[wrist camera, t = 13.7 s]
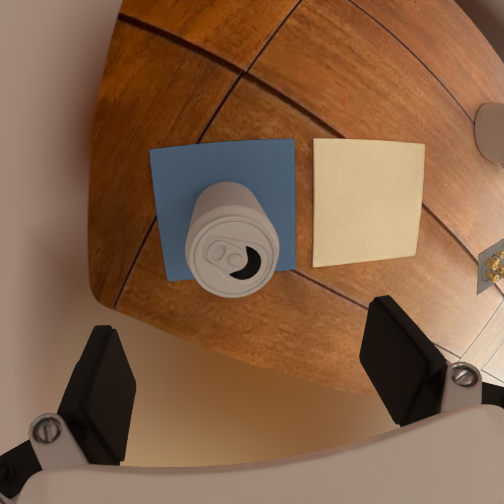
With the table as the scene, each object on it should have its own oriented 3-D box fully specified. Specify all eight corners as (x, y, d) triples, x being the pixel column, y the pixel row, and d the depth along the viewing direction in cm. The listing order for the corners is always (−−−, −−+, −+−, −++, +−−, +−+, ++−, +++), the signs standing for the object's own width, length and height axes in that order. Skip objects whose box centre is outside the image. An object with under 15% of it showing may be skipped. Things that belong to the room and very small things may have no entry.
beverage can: (238, 252, 32) (252, 316, 21) (182, 224, 31) (167, 279, 20) (270, 199, 31) (302, 240, 20) (213, 168, 29) (212, 192, 18)
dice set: (501, 271, 40) (508, 276, 38) (483, 284, 40) (490, 289, 38) (503, 246, 38) (511, 251, 36) (485, 258, 38) (492, 263, 36)
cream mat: (311, 266, 35) (312, 267, 34) (312, 138, 29) (313, 138, 29) (413, 254, 36) (415, 255, 35) (423, 143, 30) (424, 144, 30)
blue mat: (168, 279, 33) (167, 281, 33) (150, 149, 28) (149, 149, 27) (294, 267, 34) (295, 269, 34) (293, 138, 29) (294, 138, 29)
